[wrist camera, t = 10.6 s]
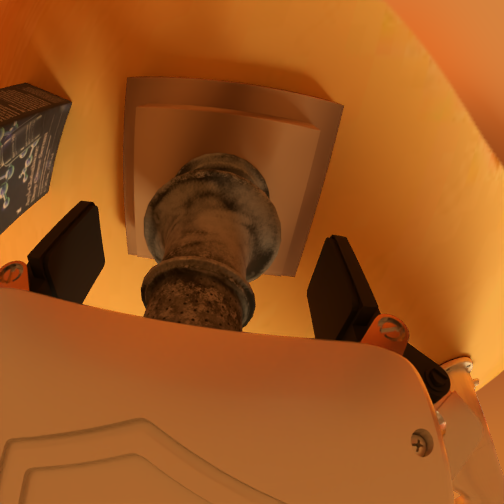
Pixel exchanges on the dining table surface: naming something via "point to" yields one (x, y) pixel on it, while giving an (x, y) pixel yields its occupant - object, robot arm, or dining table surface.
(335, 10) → the dining table surface
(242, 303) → the salt shaker
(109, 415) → the robot arm
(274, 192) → the plinth
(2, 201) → the box
